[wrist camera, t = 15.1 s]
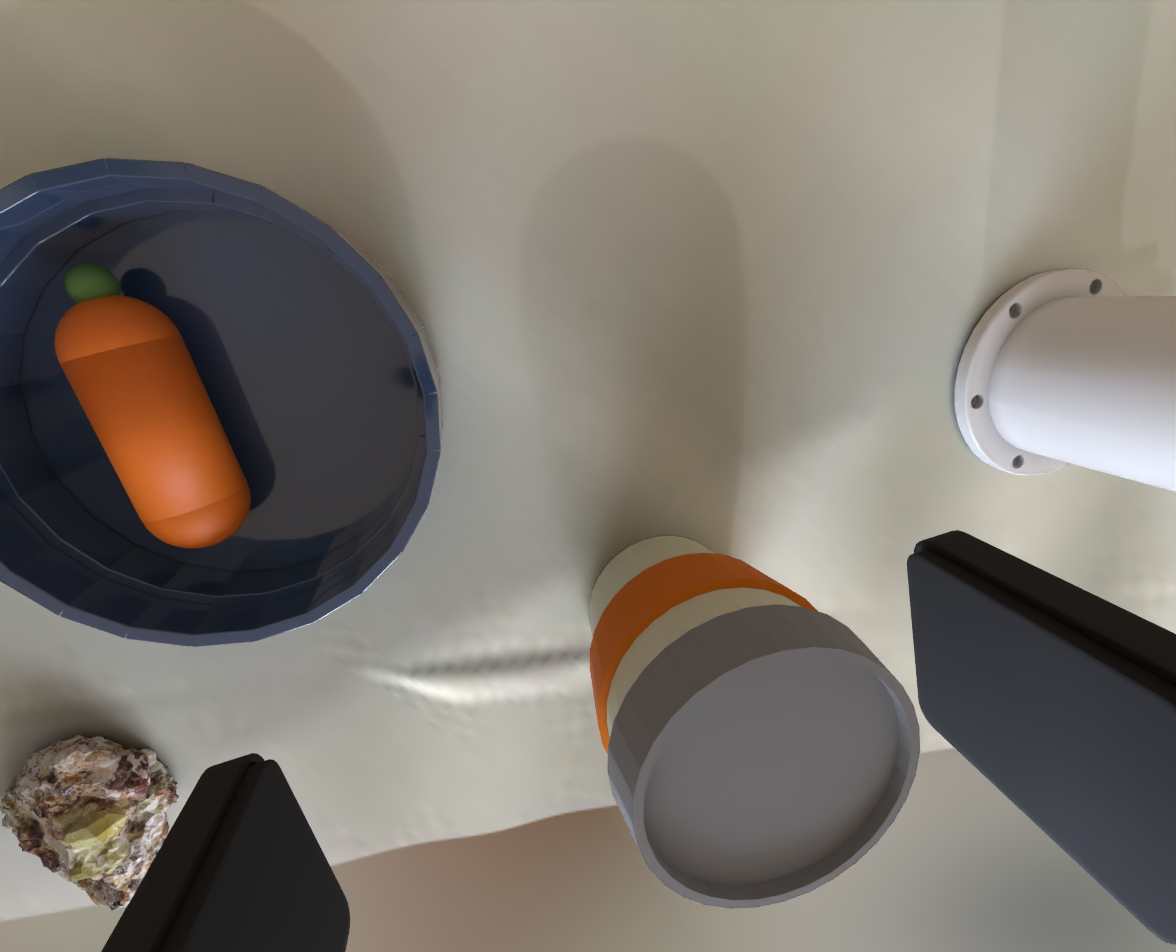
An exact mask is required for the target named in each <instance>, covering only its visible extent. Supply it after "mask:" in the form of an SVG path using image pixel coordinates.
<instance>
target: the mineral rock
mask: <svg viewBox="0 0 1176 952" xmlns="http://www.w3.org/2000/svg"><path fill="white" fill-rule="evenodd" d="M156 755H157V754H156V752H154V751H152V750H150V749H148V748H146V749H141V750H139V751H137V749H128V750H124V749H123V748H122V745H120V744H117V743H115V742H113V741H111V740H108V739H104V738H103V737H98V736H96V737H93V738H85V737H83V736H80V735H77V736H76V737H75V738H73V739H69V740H66V741H62V740H60V741H55V742H53V743H52V744H51V745H50V746H49V747H47V748H44V749H42V750H40V751H38V752H34V753H31V754H30V756H29V757H28V758H27V760H26V762H25V765H24V766H23V767H22V769H21V770H20V772H19V773H18V774H17V776H16V777H15V778H14V779H13V781H12V783H11V784H10V785H9V787H8V789H7V791H6V792H7V793H8V794H7V795H6V796H5V797H4V798H3V799H2V800H1V803H0V808H1V811H2V813H7V814H6V815H5V817H4V819H3V820H2V826H4V827H7V828H10V829H12V833H13V834H14V835H16V836H17V838H18V840H19V842H20V843H19V846H20V847H21V848H22V851H26V852H29V853H31V854H34V855H37V856H39V857H40V858H41V860H42V863H43V866H44V867H47V868H49V869H50V870H51V871H52V872H53V873H56V874H58V875H59V876H61V877H62V878H63V879H65V880H66V881H70V882H72V883H74V884H77V886H78V887H80V888H81V889H82V890H85V891H86V892H87V894H88V895H89V897H90V898H91V900H92V901H93V902H94V903H96V904H97V905H98V906H107V907H110V908H111V910H114V909H116V908H124V907H125V906H126V905H128V904H129V902H130V900H131V899H132V897H133V895H134V893H135V892H136V890H137V888H138V886H139V885H140V883H141V881H142V879H143V878H144V876H145V874H146V872H147V871H148V869H149V867H150V865H151V863H152V862H153V860H154V858H155V856H156V855H157V853H158V851H159V849H160V848H161V846H162V844H163V842H164V841H165V839H166V837H167V835H168V829H169V826H168V823H167V820H166V817H167V815H166V813H165V810H166V809H167V808H169V807H170V805H171V804H172V803H175V802H177V799H178V798H179V796H178V795H177V794H176V787H175V785H176V784H177V782H175V781H174V780H173V779H172V776H171V775H169V769H168V767H167V766H164V765H163V764H162V763H161V762H159V761H157V760H156Z"/></svg>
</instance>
